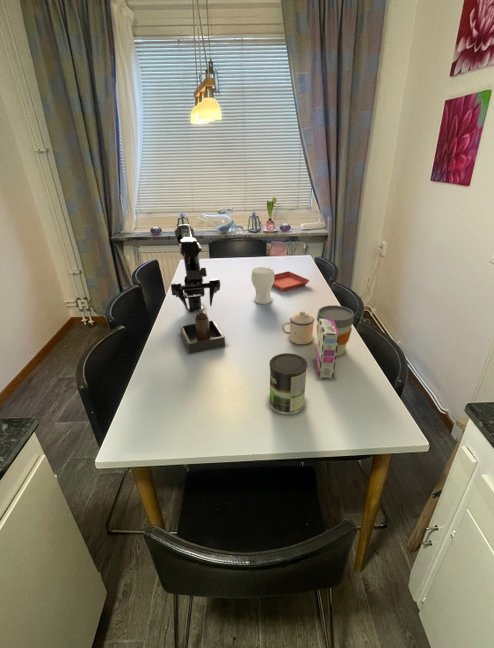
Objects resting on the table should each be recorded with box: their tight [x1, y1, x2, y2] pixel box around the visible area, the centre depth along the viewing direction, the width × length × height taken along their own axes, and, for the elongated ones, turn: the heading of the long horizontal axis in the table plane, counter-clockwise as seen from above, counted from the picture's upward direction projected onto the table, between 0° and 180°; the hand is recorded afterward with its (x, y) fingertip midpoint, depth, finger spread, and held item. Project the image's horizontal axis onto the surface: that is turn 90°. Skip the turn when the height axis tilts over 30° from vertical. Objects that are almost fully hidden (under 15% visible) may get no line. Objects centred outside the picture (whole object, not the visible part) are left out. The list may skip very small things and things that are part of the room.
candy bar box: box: [315, 319, 339, 380], centre depth 112 cm, size 11×5×16 cm, turn 178°
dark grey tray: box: [179, 319, 226, 354], centre depth 134 cm, size 16×14×4 cm
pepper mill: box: [194, 309, 210, 341], centre depth 129 cm, size 5×5×14 cm
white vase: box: [251, 266, 275, 305], centre depth 163 cm, size 11×11×15 cm
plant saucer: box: [272, 271, 310, 292], centre depth 184 cm, size 18×18×3 cm
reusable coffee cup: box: [316, 304, 355, 357], centre depth 123 cm, size 13×13×15 cm
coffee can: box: [268, 352, 308, 415], centre depth 99 cm, size 10×10×14 cm
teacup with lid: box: [281, 310, 315, 345], centre depth 131 cm, size 12×9×12 cm
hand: (199, 307), depth 134 cm, fingers open, 9 cm apart
